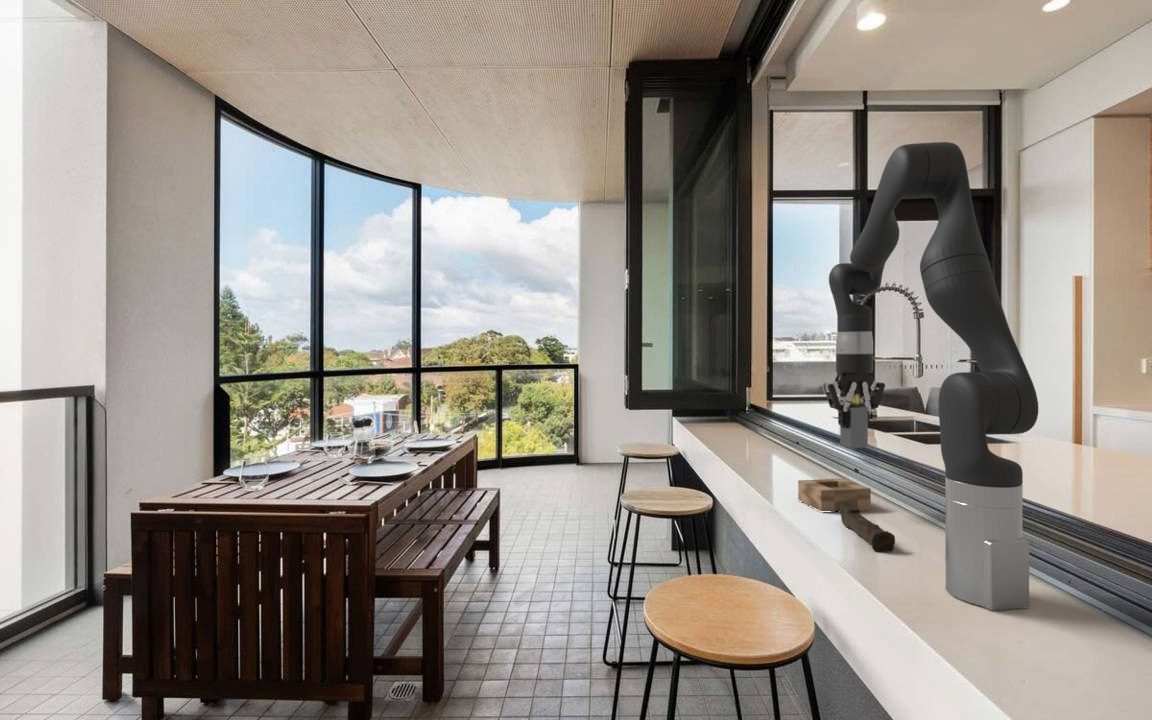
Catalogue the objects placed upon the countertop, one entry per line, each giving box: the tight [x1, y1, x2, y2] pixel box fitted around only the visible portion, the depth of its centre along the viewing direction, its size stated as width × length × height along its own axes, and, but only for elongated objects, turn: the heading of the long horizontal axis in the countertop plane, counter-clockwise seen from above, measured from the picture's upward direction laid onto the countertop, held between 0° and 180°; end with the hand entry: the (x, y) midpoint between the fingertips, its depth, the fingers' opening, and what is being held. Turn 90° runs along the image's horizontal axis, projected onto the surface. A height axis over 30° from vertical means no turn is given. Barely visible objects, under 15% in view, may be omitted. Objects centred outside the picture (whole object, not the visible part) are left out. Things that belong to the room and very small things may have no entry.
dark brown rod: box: [839, 503, 896, 553], centre depth 109 cm, size 19×4×5 cm, turn 173°
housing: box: [797, 478, 872, 512], centre depth 130 cm, size 10×12×5 cm
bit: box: [839, 394, 869, 449], centre depth 125 cm, size 4×4×12 cm
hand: (853, 427), depth 125 cm, fingers closed on bit, 4 cm apart
